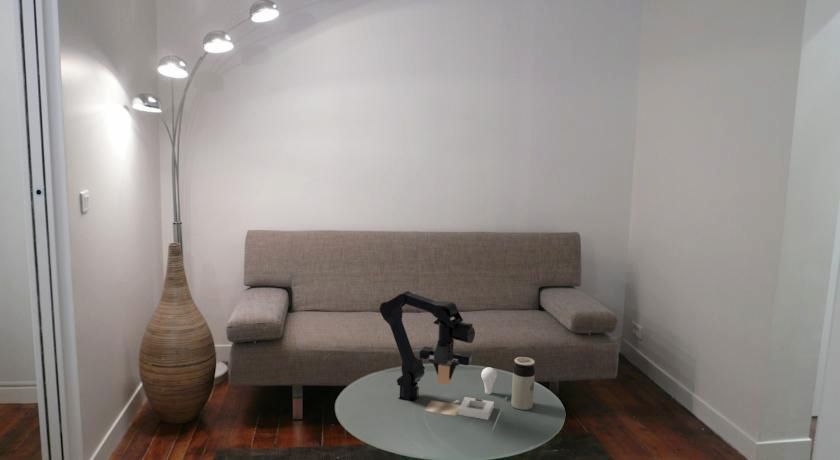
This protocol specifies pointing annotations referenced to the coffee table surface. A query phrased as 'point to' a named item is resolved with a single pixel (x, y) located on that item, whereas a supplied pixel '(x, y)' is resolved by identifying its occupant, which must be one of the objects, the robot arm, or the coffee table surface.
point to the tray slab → (442, 408)
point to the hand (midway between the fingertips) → (444, 377)
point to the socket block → (476, 408)
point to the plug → (444, 373)
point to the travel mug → (523, 383)
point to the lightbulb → (488, 379)
